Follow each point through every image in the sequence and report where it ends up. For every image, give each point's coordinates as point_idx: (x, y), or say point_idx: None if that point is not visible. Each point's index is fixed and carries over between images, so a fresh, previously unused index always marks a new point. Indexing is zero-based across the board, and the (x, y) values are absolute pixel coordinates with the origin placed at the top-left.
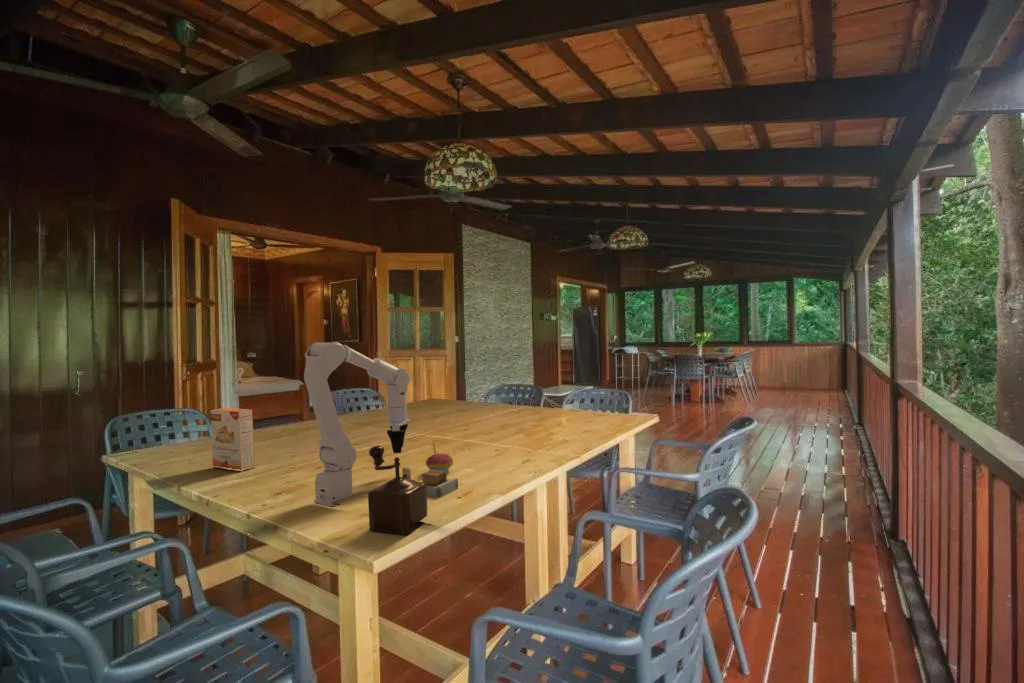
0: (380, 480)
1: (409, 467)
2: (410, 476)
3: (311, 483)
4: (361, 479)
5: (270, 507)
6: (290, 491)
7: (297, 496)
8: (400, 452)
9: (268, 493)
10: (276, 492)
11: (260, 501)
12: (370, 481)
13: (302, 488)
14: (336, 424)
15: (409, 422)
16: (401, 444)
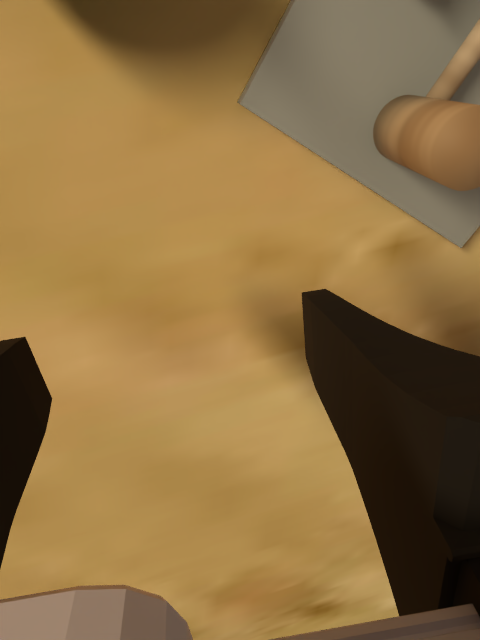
0: (174, 342)
1: (451, 122)
2: (447, 100)
3: (209, 579)
4: (153, 437)
5: None
6: (303, 593)
7: (368, 557)
8: (326, 290)
9: (313, 630)
10: (307, 618)
11: (392, 614)
12: (192, 386)
13: (273, 579)
14: None
15: (176, 616)
16: (385, 325)
